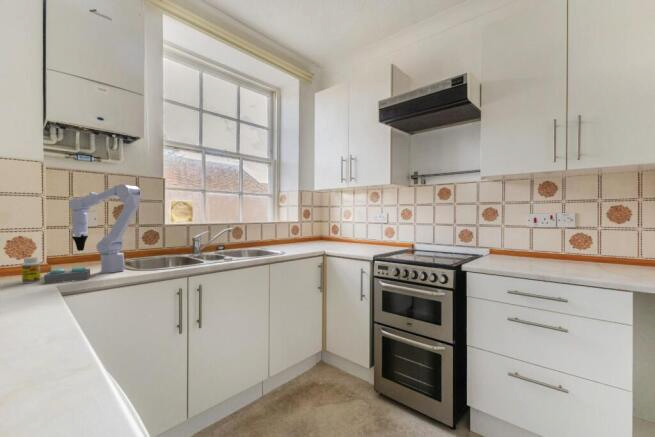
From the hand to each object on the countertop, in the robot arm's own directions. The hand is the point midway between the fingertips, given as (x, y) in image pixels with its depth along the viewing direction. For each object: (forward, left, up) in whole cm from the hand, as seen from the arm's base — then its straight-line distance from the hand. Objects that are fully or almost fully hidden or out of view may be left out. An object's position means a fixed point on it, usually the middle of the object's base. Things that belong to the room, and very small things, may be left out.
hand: (80, 250), depth 149 cm
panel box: (+2, +20, -10) cm, 23 cm away
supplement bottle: (+14, +17, -11) cm, 25 cm away
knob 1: (+5, +20, -10) cm, 23 cm away
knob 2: (-2, +20, -10) cm, 23 cm away
